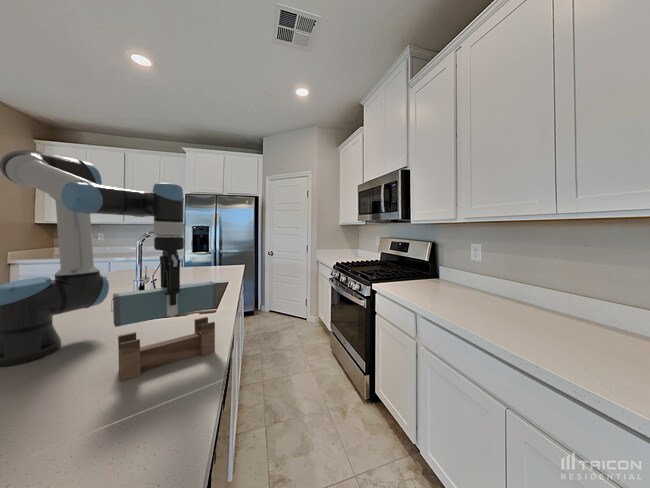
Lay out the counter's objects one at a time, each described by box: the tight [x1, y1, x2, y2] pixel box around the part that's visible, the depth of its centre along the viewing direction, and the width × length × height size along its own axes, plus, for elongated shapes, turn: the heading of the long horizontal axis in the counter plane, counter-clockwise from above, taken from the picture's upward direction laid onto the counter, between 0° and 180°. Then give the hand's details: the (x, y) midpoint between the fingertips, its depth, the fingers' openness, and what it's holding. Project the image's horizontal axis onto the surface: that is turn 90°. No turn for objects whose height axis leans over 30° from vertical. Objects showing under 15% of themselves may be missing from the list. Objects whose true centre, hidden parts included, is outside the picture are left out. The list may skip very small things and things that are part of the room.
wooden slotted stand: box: [117, 316, 216, 382], centre depth 77 cm, size 7×24×10 cm, turn 134°
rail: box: [112, 281, 217, 328], centre depth 76 cm, size 4×26×8 cm, turn 134°
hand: (170, 313), depth 76 cm, fingers closed on rail, 4 cm apart
